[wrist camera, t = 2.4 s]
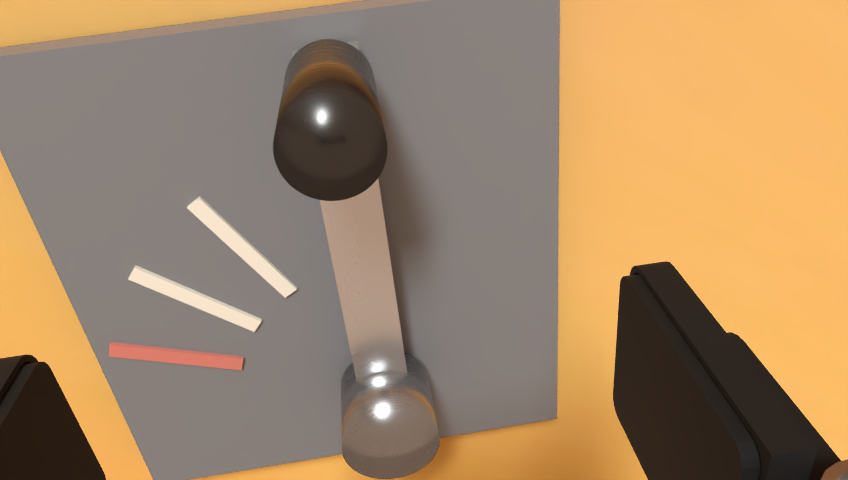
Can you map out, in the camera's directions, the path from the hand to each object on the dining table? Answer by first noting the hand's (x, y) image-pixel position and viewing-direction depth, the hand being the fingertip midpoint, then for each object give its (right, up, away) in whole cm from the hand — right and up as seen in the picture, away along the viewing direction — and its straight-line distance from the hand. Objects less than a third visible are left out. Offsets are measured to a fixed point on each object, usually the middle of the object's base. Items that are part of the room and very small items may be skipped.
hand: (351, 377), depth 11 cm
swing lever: (-2, +2, +19) cm, 19 cm away
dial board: (-4, +1, +21) cm, 21 cm away
